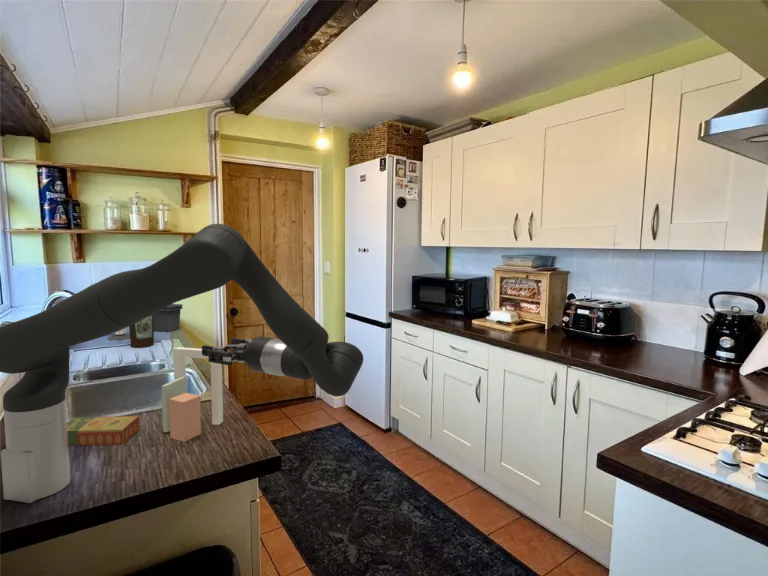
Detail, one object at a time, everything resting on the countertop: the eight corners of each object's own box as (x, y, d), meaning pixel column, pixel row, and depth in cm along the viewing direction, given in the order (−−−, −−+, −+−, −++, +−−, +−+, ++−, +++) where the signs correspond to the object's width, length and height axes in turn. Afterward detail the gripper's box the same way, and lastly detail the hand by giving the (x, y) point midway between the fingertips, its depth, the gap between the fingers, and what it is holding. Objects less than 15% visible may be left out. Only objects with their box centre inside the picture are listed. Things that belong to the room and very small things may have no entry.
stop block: (184, 442, 103) (183, 402, 102) (170, 437, 105) (168, 398, 104) (201, 433, 107) (200, 395, 106) (187, 429, 109) (186, 392, 108)
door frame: (218, 424, 113) (217, 351, 111) (175, 420, 115) (173, 348, 113) (223, 421, 115) (221, 350, 113) (180, 417, 117) (178, 347, 115)
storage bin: (186, 328, 238) (186, 303, 237) (167, 334, 223) (167, 307, 222) (153, 326, 242) (152, 302, 241) (132, 332, 227) (131, 305, 226)
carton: (123, 446, 101) (122, 428, 101) (52, 447, 100) (51, 430, 99) (140, 430, 109) (139, 414, 109) (75, 431, 108) (74, 415, 107)
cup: (108, 336, 215) (106, 294, 213) (134, 334, 220) (133, 293, 218) (104, 341, 205) (102, 297, 203) (132, 339, 209) (130, 296, 207)
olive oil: (126, 345, 198) (124, 292, 195) (151, 342, 205) (149, 291, 203) (132, 349, 190) (130, 294, 188) (158, 345, 197) (156, 293, 195)
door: (163, 431, 107) (161, 385, 106) (183, 419, 115) (182, 376, 114) (167, 432, 107) (165, 386, 106) (187, 419, 114) (186, 376, 113)
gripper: (294, 333, 96) (240, 325, 102) (250, 345, 83) (191, 335, 90) (294, 365, 96) (240, 355, 103) (250, 382, 84) (192, 369, 90)
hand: (218, 346), depth 96 cm, fingers open, 8 cm apart
